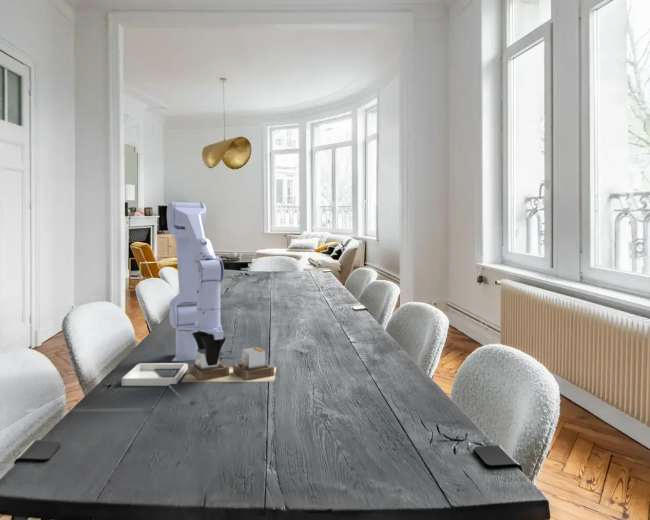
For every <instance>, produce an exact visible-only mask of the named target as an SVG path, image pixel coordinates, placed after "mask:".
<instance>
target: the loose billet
mask: <svg viewBox="0 0 650 520" xmlns="http://www.w3.org/2000/svg"><path fill="white" fill-rule="evenodd" d="M194 361H195V362H194V364H195V367H197V368H198V369H199V370H200V371H205V370H211V369H218V368H219V361H220V360H219V358H218V362H217V365H211V366H209V365H208V363H207V358H206V351H205V349H197V350H195V359H194Z"/></svg>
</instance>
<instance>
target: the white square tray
mask: <svg viewBox="0 0 650 520" xmlns="http://www.w3.org/2000/svg"><path fill="white" fill-rule="evenodd" d="M157 370H178V371H177V373H176V374H175V375H174V376H173V377H163V376H162V375H161V374H160V373H159V372H158V371H157ZM188 370H189V362H186V363H185V362H181V363H180V362H179V363H177V362H172V363H171V362H169V363H168V362H159V363H158V362H152V363H151V362H150V363H149V362H147V363H146V362H144V363H142V362H138V364H136V365H135V366H134V367H132V369H130V370H129V371H128V372H127V373H126V374H125V375H124V376H122V378H121V379H120V380H121V386H122V387H123V386H125V387H129V386H130V387H133V386H146V387H147V386H148V387H149V386H150V387H151V386H152V387H154V386H159V387H160V386H170V387H171V385H177V384H178V382H179V381H180V380H181V378H182V377H183V376H184V374H185V373H186V372H187V371H188Z"/></svg>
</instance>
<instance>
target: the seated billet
mask: <svg viewBox="0 0 650 520" xmlns="http://www.w3.org/2000/svg"><path fill="white" fill-rule="evenodd" d="M241 363H242V368H243V369H245V370H246V371H250V370H256V369H262V368H265V363H266V350H264V349H262V348H261V347H257V346H256V347H250V348H249V347H248V348H242V349H241Z"/></svg>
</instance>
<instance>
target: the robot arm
mask: <svg viewBox="0 0 650 520" xmlns="http://www.w3.org/2000/svg"><path fill="white" fill-rule="evenodd" d="M166 207H167V208H166V222H167V230H168V233H169V234H171V235H173V237H174V242H175V249H176V251H175V252H176V262H177V276H178V277H177V278H178V292H179V293H178V294H177V295H175V296H174V297H173V298H172V299H171V300H170V302H169V314H168V315H169V316H168V317H169V324H170V326H171V327H172V328H173V329H175V356H174V358H172V360H171V362H185V361H187V362H188V361H193V360H194V361H195V350H197V349H205V351H206V358H207V363H208V365H209V366H211V365H217V362H218V358H219V357H220V354H221V349H222V347H223V346H224V344H225V342H226V337H225V336H224V330H223V329H222V324H221V283H222V282H223V281H224V278H225V267H224V263H223V262H224V261H223V260H222V259H221V258H220V257H219V256H217V255H216V254H215V250H214V247H213V244H212V242H211V240H210V239H208V238H206V235H205V229H204V226H205V223H206V220H207V208H206V204H205V203H204V202H183V201H182V202H181V201H180V202H177V201H169V203H168V204H167V206H166Z"/></svg>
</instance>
